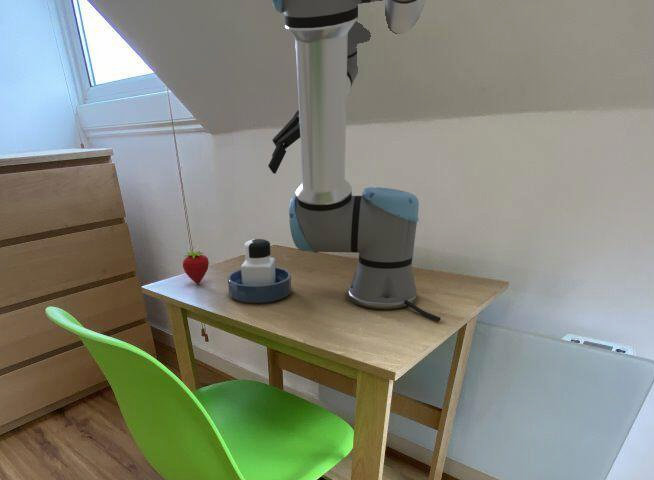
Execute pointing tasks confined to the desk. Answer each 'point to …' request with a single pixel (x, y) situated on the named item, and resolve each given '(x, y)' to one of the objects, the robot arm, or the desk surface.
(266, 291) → the bowl
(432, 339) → the desk surface
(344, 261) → the desk surface
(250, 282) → the medicine bottle
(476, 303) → the desk surface
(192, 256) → the strawberry
